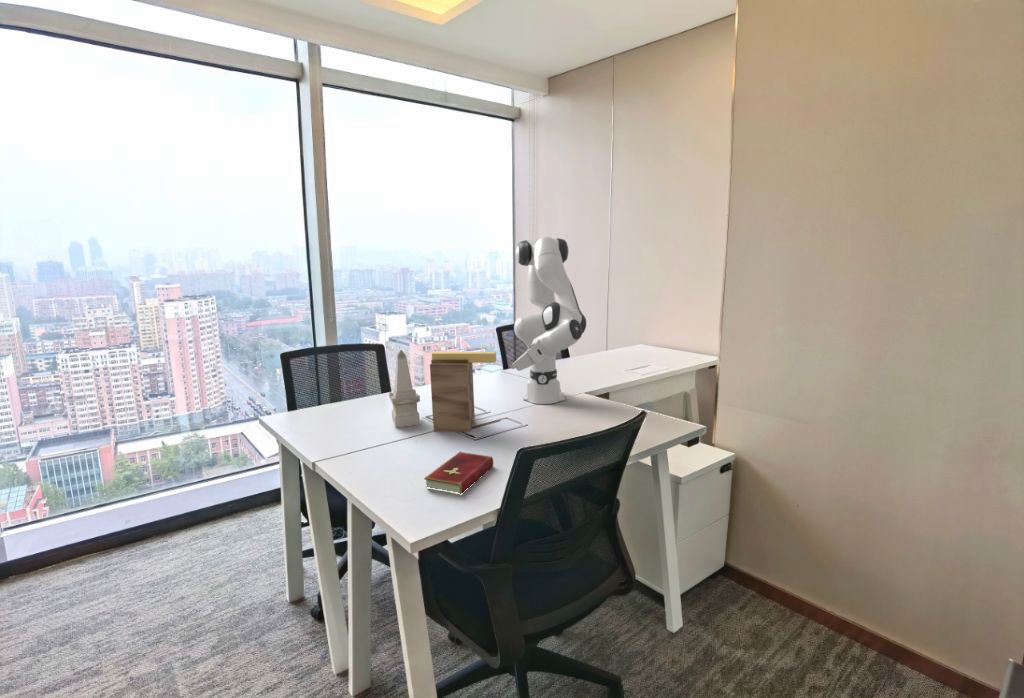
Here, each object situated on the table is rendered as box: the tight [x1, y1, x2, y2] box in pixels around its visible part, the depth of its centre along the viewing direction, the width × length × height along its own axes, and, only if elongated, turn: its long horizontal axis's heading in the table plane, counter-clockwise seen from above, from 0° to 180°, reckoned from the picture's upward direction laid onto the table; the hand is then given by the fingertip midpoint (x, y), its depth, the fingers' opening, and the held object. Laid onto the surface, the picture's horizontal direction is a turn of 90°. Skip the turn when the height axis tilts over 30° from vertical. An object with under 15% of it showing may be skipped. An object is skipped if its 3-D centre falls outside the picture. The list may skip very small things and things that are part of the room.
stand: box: [429, 359, 476, 433], centre depth 201 cm, size 10×14×27 cm
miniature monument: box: [388, 349, 421, 428], centre depth 207 cm, size 10×10×30 cm
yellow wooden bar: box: [431, 351, 497, 364], centre depth 197 cm, size 4×24×4 cm, turn 82°
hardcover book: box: [423, 451, 494, 494], centre depth 157 cm, size 12×21×4 cm, turn 157°
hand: (518, 361), depth 200 cm, fingers open, 8 cm apart
